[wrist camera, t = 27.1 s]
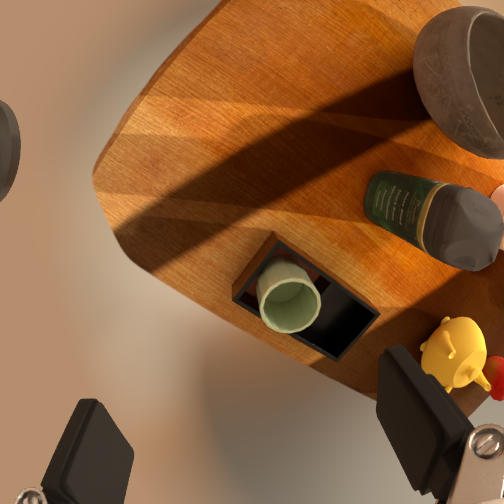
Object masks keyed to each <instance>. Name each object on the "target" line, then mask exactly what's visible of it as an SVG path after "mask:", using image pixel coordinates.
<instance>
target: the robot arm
mask: <svg viewBox="0 0 504 504" xmlns="http://www.w3.org/2000/svg"><path fill="white" fill-rule="evenodd" d="M376 413H377V417H378V419H379V421H380V423H381V425H382V427H383V429H384V431H385V433H386V435H387V437H388V439H389V441H390V443H391V445H392V447H393V449H394V451H395V453H396V455H397V457H398V459H399V461H400V463H401V466H402V468H403V469H404V472H405V474H406V476H407V478H408V480H409V482H410V484H411V486H412V488H413V489H414V490H415V491H417V490H419V491H420V493H421V495H425V494H427V493H429V492H432V494H433V496H434V498H435V499H437V500H436V503H435V504H504V428H503V427H501V426H499V425H495V424H484V425H481V426H478V427H477V428H474V427H473V425H472V424H471V422H470V421H469V420H468V418H467V417H466V416H465V414H464V413H463V412H462V410H461V409H460V408H459V407H458V405H457V404H456V403H455V401H454V400H453V399H452V398H451V396H450V395H449V394H448V392H447V391H446V390H445V389H444V387H443V386H442V385H441V384H440V382H439V381H438V380H437V379H436V377H435V376H433V375H432V374H426V373H425V372H424V370H423V369H422V368H421V367H420V365H419V364H418V363H417V362H416V360H415V359H414V358H413V357H412V355H411V354H410V353H409V352H408V350H407V349H406V348H405V347H404V346H403V345H402V344H399V345H396V346H393V347H390V348H387V349H385V350H384V354H382V355H380V358H379V377H378V391H377V404H376ZM133 460H134V451H133V449H132V447H131V446H130V444H129V443H128V441H127V440H126V439H125V438H124V436H123V434H122V433H121V432H120V430H119V429H118V427H117V425H116V424H115V422H114V421H113V419H112V418H111V416H110V415H109V413H108V412H107V410H106V409H105V407H104V405H103V404H102V403H101V402H99V401H98V400H97V399H80V400H79V402H78V404H77V406H76V408H75V410H74V412H73V414H72V416H71V418H70V420H69V422H68V424H67V426H66V428H65V430H64V433H63V435H62V437H61V439H60V441H59V443H58V445H57V448H56V450H55V452H54V454H53V457H52V459H51V461H50V464H49V466H48V468H47V470H46V473H45V475H44V477H43V480H42V482H41V486H42V487H43V490H42V491H41V490H40V489H38V488H35V487H29V488H26V489H24V490H22V491H21V492H20V493H19V494H18V495H17V497H16V499H15V503H14V504H124V499H125V495H126V490H127V486H128V481H129V477H130V473H131V468H132V464H133Z"/></svg>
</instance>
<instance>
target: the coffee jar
mask: <svg viewBox="0 0 504 504" xmlns="http://www.w3.org/2000/svg"><path fill="white" fill-rule="evenodd" d="M364 211H365V214H366V216H367V218H368V219H369V220H370V221H371V222H373V223H375V224H376V225H378V226H380V227H382V228H384V229H385V230H387V231H389V232H391V233H393V234H395V235H396V236H398V237H400V238H401V239H403V240H405V241H406V242H408V243H410V244H412V245H413V246H415V247H417V248H418V249H420V250H422V251H423V252H425V253H427V254H428V255H430V256H431V257H433V258H435V259H437V260H439V261H441V262H443V263H445V264H447V265H450V266H452V267H455V268H458V269H463V270H468V271H478V270H481V269H483V268H485V267H486V266H488V265H489V264H490V263H492V262H494V260H495V258H496V255H497V253H498V250H499V247H500V244H501V241H502V238H503V234H504V220H503V216H502V213H501V211H500V209H499V207H498V206H497V205H496V204H495V203H494V202H493V201H492V200H491V199H490V198H489V197H487V196H485V195H483V194H481V193H479V192H477V191H475V190H474V189H472V188H470V187H467V188H465V187H462V186H459V185H455V184H450V183H445V182H440V181H436V180H431V179H426V178H421V177H416V176H411V175H407V174H402V173H397V172H392V171H380V172H378V173H376V174H375V175H374V176H373V177H372V179H371V180H370V182H369V185H368V188H367V191H366V194H365V200H364Z"/></svg>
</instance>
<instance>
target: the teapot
mask: <svg viewBox="0 0 504 504" xmlns="http://www.w3.org/2000/svg"><path fill="white" fill-rule="evenodd" d="M420 350H421V351H423V354H422V359H421V366H422V369H423V370H424V372H425V373H426V374H432V375H433V376H435V377H436V379H437V380H438V381H439V382H440V384H441V385H442V386H447V387H446V388H445V390H446V391H447V392H448V393H449V392H450V391H451V389H452V387H458V388H459V387H463V386H465V385H467V384H469V383H470V382H472V381H475V382H477V383H478V384H480V385H481V386H482V387H483V388H484V389H485V390H486V391H490V390H491V385H490V384H489V383H488V381H487V380H486V378H485V377H484V375H483V373H482V371H481V370H482V369H483V367H484V365H485V361H486V346H485V341H484V337H483V334H482V332H481V330H480V328H479V327H478V326H477V324H476V323H475V322H474V321H473V320H472V319H470V318H467V317H458V318H454V319H451V320H450V318H449V317H445V318H444V319H443V320H442V321H441V324H440V326H439V327H438V328H437V329H436V330H435V331H434V332H433V333H432V335H431V336H430V337H429V339H428V341H425V342H424V343H422V345H421V347H420Z"/></svg>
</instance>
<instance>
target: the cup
mask: <svg viewBox="0 0 504 504" xmlns="http://www.w3.org/2000/svg"><path fill="white" fill-rule="evenodd" d="M490 199H491V200H492V201H493V202H494V203H495V204H496V205H497V206H498V207H499V209H500V211H501V213H502V216H503V220H504V184H503V185H500V186H499V187H498V188H497V189H496V190H495V191H494V192H493V194H492V195H491V197H490ZM499 249H501V250H503V251H504V234H503V238H502V241H501V244H500V247H499Z"/></svg>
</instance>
